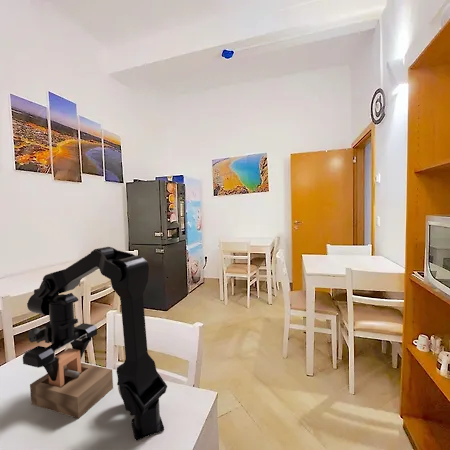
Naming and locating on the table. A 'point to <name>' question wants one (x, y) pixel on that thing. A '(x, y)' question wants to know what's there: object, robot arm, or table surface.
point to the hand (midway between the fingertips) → (65, 372)
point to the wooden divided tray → (73, 390)
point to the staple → (73, 363)
